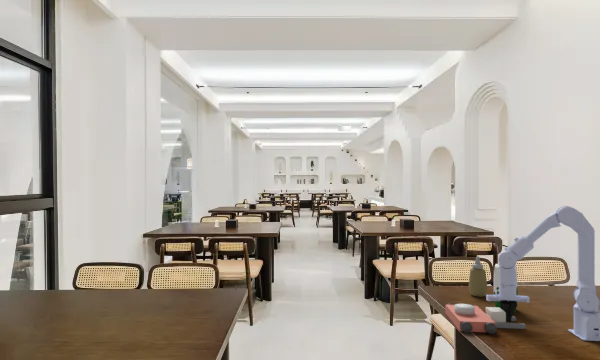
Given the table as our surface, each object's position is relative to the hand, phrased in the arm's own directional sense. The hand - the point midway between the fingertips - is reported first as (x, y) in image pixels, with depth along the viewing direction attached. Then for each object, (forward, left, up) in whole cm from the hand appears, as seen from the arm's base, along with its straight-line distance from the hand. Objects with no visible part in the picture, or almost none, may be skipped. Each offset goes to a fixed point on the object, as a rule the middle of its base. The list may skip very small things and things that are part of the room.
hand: (507, 321), depth 148 cm
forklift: (0, +8, -1) cm, 8 cm away
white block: (0, +6, -1) cm, 6 cm away
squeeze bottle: (+40, -2, -1) cm, 40 cm away
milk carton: (+18, -6, -1) cm, 19 cm away
